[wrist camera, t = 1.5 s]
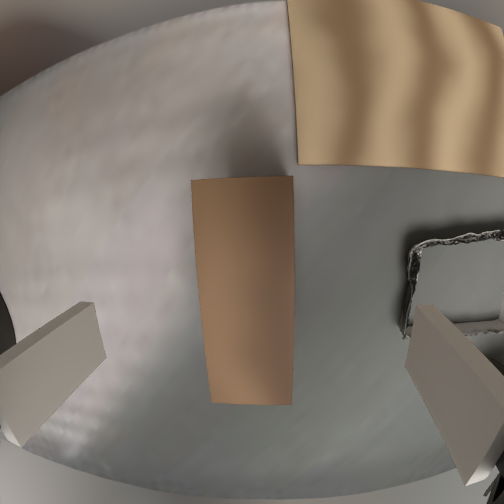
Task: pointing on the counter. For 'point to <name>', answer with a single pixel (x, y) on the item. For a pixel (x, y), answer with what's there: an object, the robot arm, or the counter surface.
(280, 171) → the counter surface
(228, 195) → the walnut slab
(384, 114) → the light wood board
